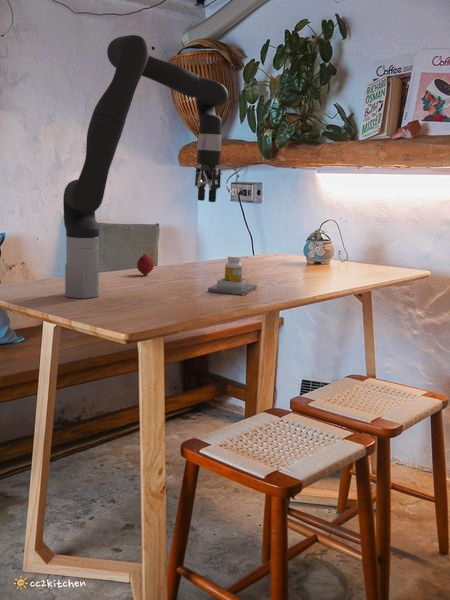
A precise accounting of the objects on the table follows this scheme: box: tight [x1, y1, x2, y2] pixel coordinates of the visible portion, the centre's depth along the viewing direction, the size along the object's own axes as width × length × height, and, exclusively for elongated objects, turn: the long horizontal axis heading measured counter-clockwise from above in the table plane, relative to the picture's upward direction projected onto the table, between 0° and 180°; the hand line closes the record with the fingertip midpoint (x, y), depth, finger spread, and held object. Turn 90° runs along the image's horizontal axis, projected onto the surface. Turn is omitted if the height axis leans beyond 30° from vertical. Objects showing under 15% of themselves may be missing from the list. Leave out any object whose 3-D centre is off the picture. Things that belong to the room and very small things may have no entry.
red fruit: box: [136, 252, 155, 276], centre depth 240 cm, size 6×6×8 cm
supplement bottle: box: [224, 255, 243, 282], centre depth 217 cm, size 5×5×10 cm
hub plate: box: [207, 276, 258, 296], centre depth 218 cm, size 14×12×3 cm
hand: (206, 201), depth 218 cm, fingers open, 8 cm apart
